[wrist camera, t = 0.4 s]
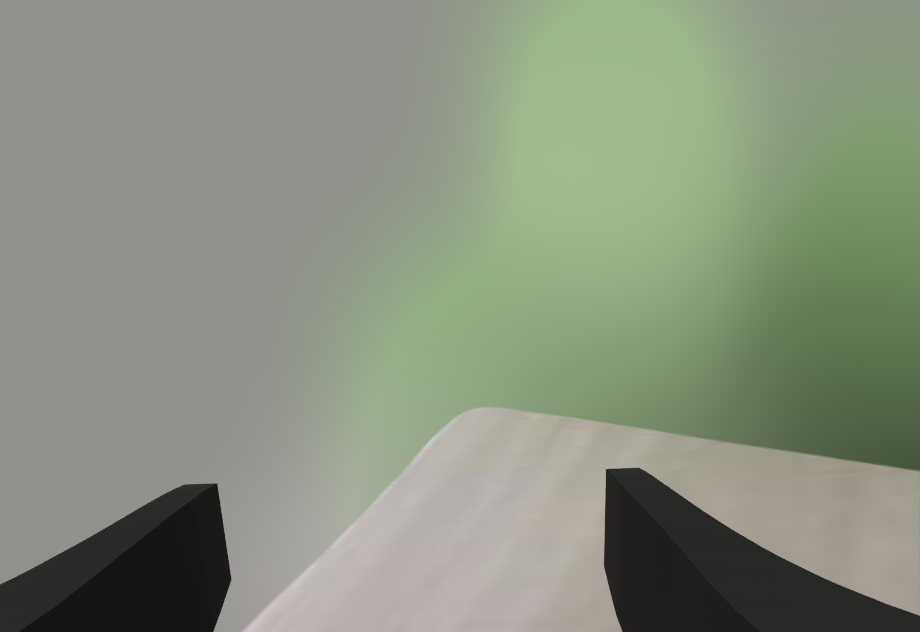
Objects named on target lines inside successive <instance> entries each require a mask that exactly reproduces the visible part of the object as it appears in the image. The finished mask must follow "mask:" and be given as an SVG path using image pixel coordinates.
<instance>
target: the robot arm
mask: <svg viewBox="0 0 920 632" xmlns="http://www.w3.org/2000/svg"><path fill="white" fill-rule="evenodd" d="M604 568H605V572H606V576H607V580H608V584H609V588H610V592H611V596H612V600H613V604H614V608H615V611H616V615H617V618H618V621H619V623H620V626H621V629H622V631H623V632H920V616H919V615H916V614H913V613H910V612H907V611H905V610H902V609H899V608H896V607H893V606H890V605H888V604H885V603H883V602H880V601H878V600H875V599H873V598H870V597H868V596H865V595H863V594H860V593H858V592H855V591H853V590H850V589H848V588H845V587H843V586H840V585H838V584H836V583H833V582H831V581H829V580H827V579H824V578H822V577H820V576H818V575H816V574H814V573H812V572H810V571H807V570H805V569H803V568H801V567H799V566H797V565H795V564H793V563H791V562H789V561H787V560H785V559H783V558H781V557H779V556H777V555H775V554H774V553H772V552H770V551H768V550H766V549H764V548H762V547H761V546H759V545H757V544H756V543H754V542H752V541H750V540H749V539H747V538H745V537H744V536H742V535H740V534H739V533H737V532H735V531H733V530H732V529H730V528H729V527H727V526H726V525H724V524H722V523H721V522H719V521H718V520H716V519H715V518H713V517H711V516H710V515H708V514H707V513H705V512H704V511H702V510H701V509H699V508H698V507H696V506H695V505H694V504H692V503H691V502H689V501H688V500H686V499H685V498H683V497H682V496H680V495H679V494H678V493H676V492H675V491H673V490H672V489H671V488H669V487H668V486H666V485H665V484H663V483H662V482H660V481H659V480H658V479H656V478H655V477H653V476H652V475H650V474H649V473H647V472H646V471H644V470H642V469H640V468H622V469H606V500H605V548H604ZM230 582H231V575H230V567H229V560H228V554H227V547H226V541H225V533H224V527H223V520H222V513H221V506H220V500H219V493H218V486H217V484H190V485H183V486H181V487H178V488H176V489H174V490H172V491H170V492H168V493H166V494H164V495H162V496H160V497H159V498H157V499H155V500H153V501H151V502H150V503H148V504H146V505H144V506H143V507H141V508H139V509H137V510H136V511H134V512H132V513H131V514H129V515H127V516H125V517H124V518H122V519H120V520H119V521H117V522H115V523H114V524H112V525H110V526H108V527H107V528H105V529H103V530H102V531H100V532H98V533H97V534H95V535H93V536H91V537H89V538H88V539H86V540H84V541H82V542H80V543H79V544H77V545H75V546H74V547H71V548H69V549H68V550H66V551H64V552H62V553H60V554H58V555H56V556H55V557H53V558H51V559H49V560H47V561H45V562H44V563H42V564H40V565H38V566H36V567H35V568H33V569H31V570H29V571H27V572H25V573H23V574H21V575H19V576H17V577H15V578H13V579H11V580H9V581H7V582H5V583H2V584H1V585H0V632H213V631H214V628H215V625H216V623H217V620H218V617H219V614H220V612H221V609H222V606H223V603H224V600H225V597H226V594H227V591H228V588H229V585H230Z"/></svg>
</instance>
